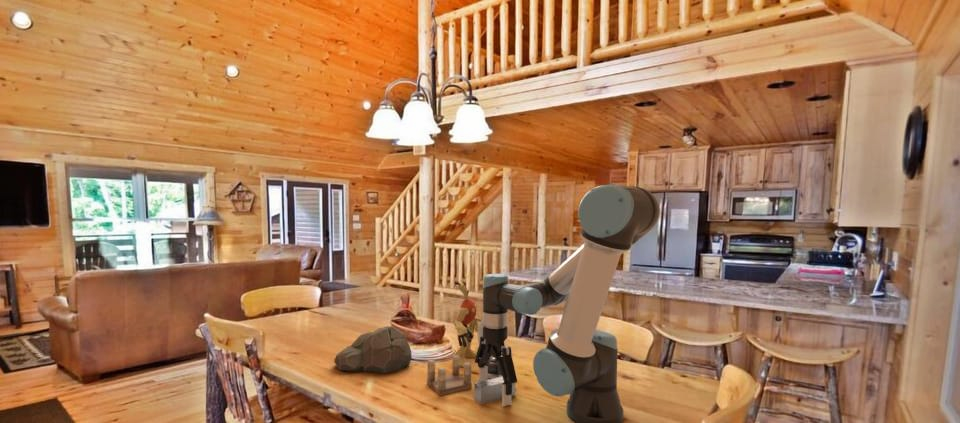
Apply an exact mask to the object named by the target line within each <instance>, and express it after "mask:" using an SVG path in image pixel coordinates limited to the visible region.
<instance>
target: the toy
mask: <svg viewBox="0 0 960 423" xmlns="http://www.w3.org/2000/svg"><path fill="white" fill-rule="evenodd" d="M454 285H456V286H457V289H459V291H460V292H461V293H462V294H463V298H464V299H463V301H462V302H461V304H460V308H459V310H458V313H457V315H456V317H455V319H454V322H453V326H454V328H455V329H456V333H457V340H458V346H459V348H458V350H457V351H456V353H455V355H458V356H460V367H461V368H464V363H470V362H469V360H468V358H469V359H470V358H471V359H473V358H474V359H475V358H476V355H477V352H476V351H474V350H473V349H471V345H472V341H473V339H474V336H475V334H474V332H475V333H477V332H478V331H479V326H478V323H480V322H483V319H482V318H480V317H478V316H476V315H477V306H478V305H477V303H476V302H475V301H474V300H472V299H471V298H469V293H470V290H468V288H467V286H466V285H465V283H464V282H459V281H457V282H456V281H455V282H454Z"/></svg>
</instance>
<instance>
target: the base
mask: <svg viewBox="0 0 960 423" xmlns="http://www.w3.org/2000/svg"><path fill="white" fill-rule="evenodd" d="M498 377H502V376H501V375H499V374H498V373H497V374H492V373H488V380H489V379H494V378H498Z"/></svg>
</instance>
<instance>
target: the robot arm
mask: <svg viewBox="0 0 960 423" xmlns="http://www.w3.org/2000/svg"><path fill="white" fill-rule="evenodd" d="M660 209H661V208H660V204H659V201H658V199H657V198H656V196H655V195H654V194H653V193H652V192H651V191H649V190H648V189H646V188H643V187H639V186H628V185H619V184H614V183H613V184H606V185H605V184H603V185H599V186H596V187H594V188H592V189H590V190H589V191H588V192H586V193H585V195H584V196H583V197H582V199H581V201H580V202H579V206H578V210H577V217H578V218H577V219H578V220H579V221H580V222H579V225H580V227H581V231H580V237H581V239H582V240H583V244H581V245H580V247H579V248H577V249H576V250H575V251H574V252H573V253H572V254H571V255H570V256H568V258H566V259H565V260H564V261H563V262H562V263H561V264H560V265H559V266H558V267H557V268H556V269H554V271H552V272H551V273H550V274H549V275H548V276H547V277H546V278H545V279H543V280H542V281H538V282H533V283H526V284H513V283H510V281H509V276H508V275H507V274H504V273H488V274H485V275H484V277H483V282H482V283H483V285H482V322H483V325H484V326H483V336H482V337H480V344H479V343H478V348H477V352H476V353H477V355H476V358H474V363H475V364H477V367H478V382H480V381H485V380H488V367H487V366H486V365H487V363H488V361H489V359H490V358H491V357H494V358H495V361H497V362H498V365H499V368H500V371H501V374H502V377H503V380H504V382H503V383H502V399H501V401H502V402H501V403H502V404H501V405H502V407H506V406H511V405H512V397H511V395H512V384H513V383H515V384H517V383H518V378H517V374H516V369H515V365H514V361H513V360H514V359H513V356H512V355H513V354H512V347H511V346H508V347H507V346H505V341H506V340H507V339H508V337H509V336H508V329H509V328H508V326H507V325H508V311H512V312H516V313H517V314H518V313H519V314H520V315H529V316H533V315H534V316H535V315H536V314H537V313H538V312H539V311H540V310H541V308H547V307H551V306H552V307H553V306H554V307H555V306H558V305H560V304H562V303H564V302H565V301H566V303H565V306H564V309H563V313H562V314H561V315H562V316H561V319H560V322H559V325H558V328H556V329H553V330H552V331H550V334H549V337H548V340H547V343H546V347H545V348H542V349H540V350H539V351H537V352H536V353H535V355H534V358H533V362H532V363H533V364H532V366H533V367H532V368H533V373H534V375H535V377H536V380H537V383H538V384H539V385H540V387H541V388H542V389H543V390H544V391H545V392H547V394H549V395H551V396H554V397H563V396H567V395H568V396H569V397H568V399H567V402H566V414H567V416H568V417H569V419H571V420H572V421H573V422H575V423H623V421H624V408H623V406H622V405H621V399H620V396H619V392H618V387H617V386H618V385H617V384H618V350H619V348H618V340H617V338H616V336H614V334H612V333H609V332H607V331H603V330H598V329H597V327H598V324H599V321H600V318H601V314H602V312H603V309H604V306H605V303H606V300H607V297H608V294H609V291H610V288H611V284H612V282H613V279H614V275H615V274H616V270H617V267H618V264H619V261H620V258H621V255H623V254H624V253H627V252H629V251H630V250H631V247H632V245H634V244H636V243H637V242H638V241H639V240H640V239H642V237H644V236H646V235H647V234H648V233H649V232H650V231H651V230H652V229H653V228H654V227H655V226H656V224H657V223H658V221H659V217H660V214H661V212H660V211H661V210H660ZM485 366H486V367H485Z"/></svg>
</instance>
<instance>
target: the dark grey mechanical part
mask: <svg viewBox="0 0 960 423" xmlns="http://www.w3.org/2000/svg"><path fill="white" fill-rule="evenodd" d="M486 366H487V367H488V373H492V374H497V373H498V374H499V375H501V376H502V374H501V371H500V368H499V365H498V362H497V361H495V358H494V357H493V356H491V357H490V359H489V361H488V363H487V365H486ZM486 366H485V367H486Z"/></svg>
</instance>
